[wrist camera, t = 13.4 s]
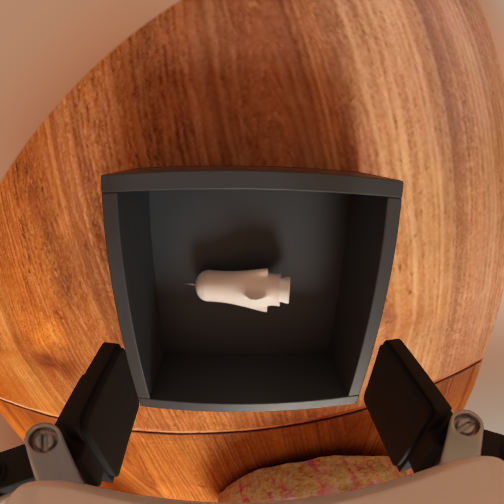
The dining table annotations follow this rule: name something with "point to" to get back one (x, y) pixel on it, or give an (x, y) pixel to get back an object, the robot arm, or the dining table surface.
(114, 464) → the robot arm
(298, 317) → the bin
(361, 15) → the dining table surface
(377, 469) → the cake
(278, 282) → the small white plastic part
